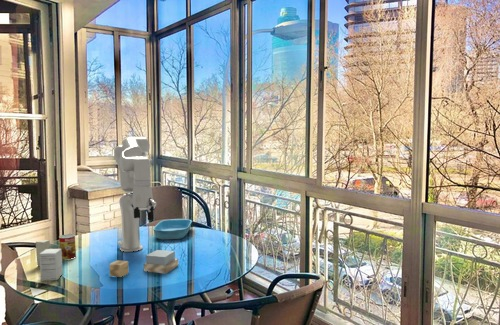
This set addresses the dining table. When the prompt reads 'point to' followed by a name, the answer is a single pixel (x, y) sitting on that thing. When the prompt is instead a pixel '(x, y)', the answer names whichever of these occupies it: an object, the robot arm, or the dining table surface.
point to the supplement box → (51, 264)
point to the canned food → (67, 246)
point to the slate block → (160, 257)
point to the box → (41, 248)
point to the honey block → (119, 268)
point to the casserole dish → (172, 228)
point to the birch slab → (161, 267)
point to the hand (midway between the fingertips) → (143, 218)
